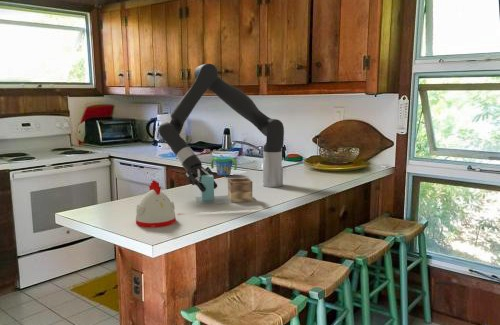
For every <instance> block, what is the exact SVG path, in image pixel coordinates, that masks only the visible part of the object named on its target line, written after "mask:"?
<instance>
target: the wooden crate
mask: <svg viewBox="0 0 500 325" xmlns="http://www.w3.org/2000/svg"><path fill="white" fill-rule="evenodd" d="M227 196H228V198H229V199H230V201H231V202H243V201H253V199H254V198H253V181H252V180H251V179H250V178H249V177H240V178H239V177H237V178H227ZM243 203H244V202H243Z"/></svg>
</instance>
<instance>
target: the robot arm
mask: <svg viewBox="0 0 500 325" xmlns="http://www.w3.org/2000/svg"><path fill="white" fill-rule="evenodd" d="M193 76H194V78H195V81H194V82H193V84H192V85H191V87H190V88H189V90H188V91H187V92H186V93H185V94H184V95H183V96H182V98H181V99H180V100H179V102H178V103H177V104H176V106H175V107H174V108H173V110H172V112H171V113H170V118H171V119H170V121H169V122H167V121H164V122H162V123H161V124H160V125H159V127H158V134H159V135H160V136H161V138H162V139H163V141H164V142H165V143H166V144H167V145H168V147H170V149H171V151H172V152H173V154H174V155H175V156H176V158H177V160H178V161H179V163H180V164H181V166H182V167H183V169H185V171H186V173H185V174H184V176H185V178H186V179H187V180H188V182H190V184H191V186H196V187H197V188H198V189H199V190H200V192H201V191H202V192H204V191H205V190H206V188H205V187H204V185H203V184H202V182H201V176H202V175H213V176H214V179H215V178H216V175H215V174H214V173H213V171H212V170H211V167H209V166H207V167H206V168H205V167H203V162H202V161H201V159H199V157H198V156H197V154H196V153H195V152H194V150H193V149H192V148H191V147H190V145H189V144H188V143H187V141H185V140H184V138H182V136H181V132H182V130H183V127H184V125H185V122H186V121H187V119H188V118H189V117H190V115H191V113H192V112H193V110H194V108H195V107H196V106H197V104H198V102H199V101H200V99H201V98H202V97H203V96H204V94H205V93H206V92H207V91H208V90H209V91H211V92H212V93H213V94H214V95H215V96H217V97H218V98H219V99H221V100H222V101H223V103H225V104H226V105H227V106H228V107H229V108H230V109H232V110H233V111H234V112H236V114H239V116H241V117H243V118H244V119H245V120H246V121H249V122H250V123H251V124H252V125H254V127H255V128H256V129H257V130H259V132H260V133H261V134H263V135H264V136H265V137H266V142H265V144H263V149H262V152H263V154H262V155H263V160H262V161H263V162H262V163H263V166H262V168H263V171H262V174H263V176H262V177H263V178H262V179H263V181H262V182H263V186H264V187H267V188H278V187H283V186H284V167H283V165H282V164H283V163H282V162H283V152H282V151H283V147H284V140H285V127H284V124H283V122H282V120H279V119H276V118H270V117H269V116H268V115H266V114H264V113H263V112H262V111H261V110H260V109H259V108H258V107H257V105H256V104H255V102H254V101H253V100H252V99H251V98H250V97H249V96H248V95H247V94H246V93H244V92H243V91H242V90H241V89H239V88H238V87H235V86H233V85H231V84H229V83H227V82H226V81H224V80H223V79H221V77H219V72H218V68H217V66H215V65H214V64H212V63H204V64H201V65H198V66H196V68H195V69H194V72H193ZM217 188H218V183H217V182H216V181H215V180H214V190H216V189H217Z"/></svg>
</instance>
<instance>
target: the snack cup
mask: <svg viewBox="0 0 500 325" xmlns="http://www.w3.org/2000/svg"><path fill="white" fill-rule="evenodd" d="M210 162H211V163H210V169H214V167H215V168H216V174H217V176H219V177H220V176H221V177H223V176H224V177H225V176H226V177H227V176H228V177H229V176H230V175H231V173H232V167H233V166H232V165H233V164H234V171H236V170H237V168H238V164H237V161H236V159H234V157H232V156H222V155H220V156H215V157H214V158H212V159H211V161H210ZM214 162H215V163H214ZM214 164H215V166H214Z"/></svg>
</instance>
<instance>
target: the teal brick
mask: <svg viewBox="0 0 500 325" xmlns="http://www.w3.org/2000/svg"><path fill="white" fill-rule="evenodd" d="M200 181H201V182H202V184H203V185H204V187H205V188H206V190H205V191H204V192H202V191H201V190H200V193H201V194H200V195H201V196H200V197H201V198H202V201H207V200H214V196H215V189H214V181H215V178H214V176H213V175H202V176H201V179H200Z"/></svg>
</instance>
